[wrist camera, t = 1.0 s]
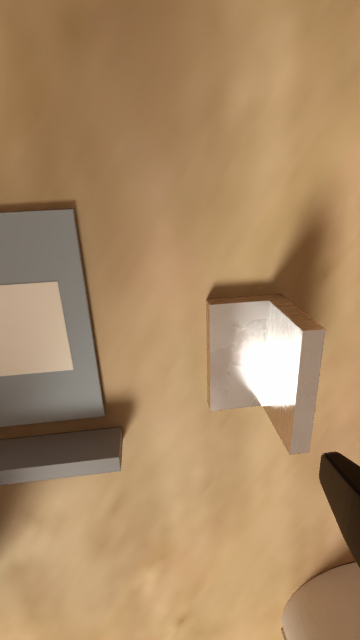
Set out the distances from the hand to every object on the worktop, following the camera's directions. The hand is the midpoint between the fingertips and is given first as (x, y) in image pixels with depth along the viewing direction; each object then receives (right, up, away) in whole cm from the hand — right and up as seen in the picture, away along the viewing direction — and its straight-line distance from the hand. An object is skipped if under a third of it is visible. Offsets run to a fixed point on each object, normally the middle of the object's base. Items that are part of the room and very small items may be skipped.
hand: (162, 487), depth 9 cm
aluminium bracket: (+5, +2, +15) cm, 16 cm away
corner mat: (-11, +4, +12) cm, 17 cm away
